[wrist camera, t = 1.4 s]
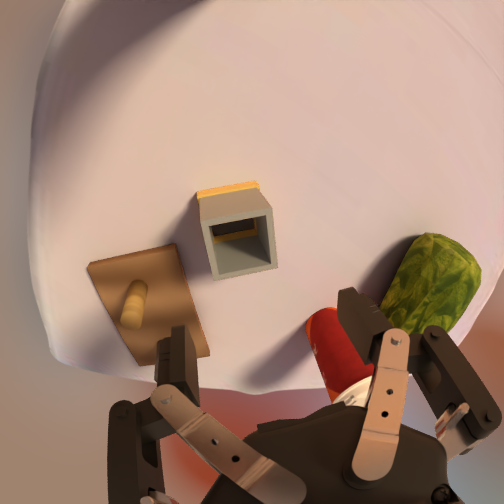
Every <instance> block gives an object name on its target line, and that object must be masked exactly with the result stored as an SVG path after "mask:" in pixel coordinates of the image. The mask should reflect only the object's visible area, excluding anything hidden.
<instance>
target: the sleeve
mask: <svg viewBox="0 0 504 504" xmlns="http://www.w3.org/2000/svg"><path fill="white" fill-rule="evenodd" d="M197 199H198V204H199V209H200V223H201V227H202V232H203V236H204V241H205V245H206V249H207V254H208V258H209V262H210V266H211V271H212V275H213V279H214V281H217V280H222V279H227V278H232V277H237V276H242V275H247V274H252V273H257V272H261V271H266V270H271V269H276V268H278V263H277V253H276V242H275V232H274V222H273V212H272V207H271V205H270V204H269V203H268V201H267V200H266V199H265V197H264V196H263V195H262V193H261V192H260V190H259V184H258V183H257V182H256V181H251V182H245V183H240V184H234V185H229V186H223V187H218V188H213V189H208V190H203V191H198V192H197ZM248 218H253V219H254V227H255V229H250V230H245V231H239V232H234V233H229V234H224V235H219V236H213V231H212V227H211V226H212V225H217V224H222V223H227V222H232V221H237V220H243V219H248Z"/></svg>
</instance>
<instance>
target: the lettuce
mask: <svg viewBox="0 0 504 504" xmlns="http://www.w3.org/2000/svg"><path fill="white" fill-rule="evenodd" d="M480 283H481V268H480V266H479V264H478V263H477V261H476V259H475V258H474V256H473V255H472V254H471V253H470V252H468V251H467V250H466V249H465V248H464V247H463V246H462V245H461V244H459V243H458V242H456V241H454V240H452V239H450V238H448V237H446V236H443V235H441V234H434V233H424V234H423V235H421V236H420V237H418V238H417V239H415V240H414V242H413V243H412V245H411V246H410V248H409V250H408V251H407V253H406V254H405V257H404V259H403V261H402V263H401V265H400V267H399V269H398V271H397V273H396V275H395V278H394V280H393V282H392V284H391V286H390V288H389V290H388V292H387V293H386V295H385V297H384V299H383V301H382V303H381V305H380V307H379V309H380V311H382V313H383V314H384V315H385V317H386V318H387V319H388V320H389V322H390V323H391V324H392V326H393V327H394V328H396V329H401V330H403V331H405V332H406V333H407V334H408V335H413V334H422V333H423V331H424V329H425V328H426V327H427V326H430V325H437V326H440V327H442V328H443V329H444V330H445V331H446V333H448V332H449V331H450V330H451V329H452V328H453V327H454V326H455V324H456V323H457V322H458V320H459V319H460V318H461V316H462V315H463V313H464V312H465V310H466V308H467V307H468V305H469V303H470V302H471V300H472V298H473V297H474V295H475V293H476V292H477V290H478V288H479V287H480Z"/></svg>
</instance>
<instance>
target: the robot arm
mask: <svg viewBox="0 0 504 504" xmlns="http://www.w3.org/2000/svg"><path fill="white" fill-rule="evenodd" d="M337 317H338V320H339V322H340V324H341V326H342V327H343V329H344V331H345V332H346V334H347V336H348V337H349V339H350V341H351V342H352V344H353V346H354V347H355V349H356V351H357V352H358V354H359V356H360V357H361V359H362V361H363V363H364V364H365V366H366V365H369V364H371V363H372V364H373V365H374V369H373V373H372V378H371V382H370V386H369V390H368V394H367V397H366V400H365V403H364V406H363V407H362V406H355V405H347V406H346V405H345V403H344V400H343V401H340V402H338V403H335V404H332V405H329V406H325V407H323V408H321V409H319V410H318V411H316V412H314V413H313V414H311V415H309V416H307V417H305V418H302V419H285V420H276V421H271V422H267V423H262V424H258V425H257V428H258V430H257V431H255V432H253V433H251V434H249V435H248V436H247V437H245V438H244V439H243V440H241V439H239V438H238V437H237V436H235V435H234V434H233V433H232V432H230V431H229V430H228V429H226V428H225V427H224V426H222V425H221V424H220V423H219V422H218V421H216V420H215V419H214V418H213V417H212V416H211V415H209V414H208V413H204V412H202V411H201V410H200V409H199V408H198V407H200V399H199V385H198V370H197V354H196V348H195V345H194V342H193V339H192V337H191V334H190V332H189V329H188V327H187V325H186V324H182V325H176V326H172V328H171V337H165V338H164V339H163V341H162V342H161V344H160V348H159V362H158V378H157V388H156V389H155V390H154V391H153V392H152V394H151V397H149V398H148V399H146V400H143V401H141V402H138V403H136V404H132V403H131V402H130V401H126V400H122V401H118V402H116V403H115V404H114V405H113V406H112V407H111V409H110V412H109V424H108V425H109V426H108V453H107V470H108V471H107V476H108V500H109V504H179V503H178V502H177V501H176V500H175V499H174V498H172V497H170V496H168V495H166V494H165V487H164V479H163V470H162V461H161V451H160V439H161V438H164V437H166V436H169V435H171V434H174V433H177V434H178V435H179V436H180V437H181V438H182V439H183V440H184V441H185V442H186V443H187V444H188V445H189V446H190V447H191V448H192V449H193V450H194V451H195V452H196V453H197V454H198V455H199V456H200V457H201V458H202V459H203V460H205V461H206V462H207V463H208V464H209V465H210V466H211V467H212V468H213V469H215V470H216V471H217V472H218V473H219V474H220V475H219V476H218V478H217V480H216V481H215V483H214V484H213V486H212V487H211V489H210V490H209V492H208V493H207V495H206V496H205V498H204V499H203V501H202V502H201V504H465V503H464V502H463V501H462V500H461V499H460V498H459V497H458V496H457V495H456V494H455V492H454V491H453V490H452V489H451V487H450V486H449V483H448V478H447V461H449V460H450V459H452V458H454V457H455V456H457V455H458V454H459V455H463V454H466V453H468V452H469V451H470V450H472V449H473V448H474V447H475V446H477V445H478V444H479V443H480V442H481V441H483V440H484V439H485V438H486V437H487V436H489V435H490V434H491V433H492V432H493V431H494V430H495V429H496V428H498V426H499V425H500V423H501V420H502V414H501V411H500V409H499V407H498V406H497V404H496V402H495V401H494V399H493V398H492V396H491V395H490V393H489V392H488V390H487V389H486V387H485V385H484V384H483V382H482V381H481V379H480V378H479V377H478V375H477V373H476V372H475V371H474V369H473V368H472V367H471V365H470V363H469V362H468V361H467V359H466V358H465V356H464V355H463V354H462V353H461V351H460V350H459V349H458V347H457V346H456V344H455V343H454V342H453V340H452V339H451V338H450V336H449V335H448V334H447V333H446V331H445V330H444V329H443V328H442V327H440V326H437V325H430V326H427V327H426V328H425V329H424V331H423V333H422V334H413V335H408V334H407V333H406V332H405V331H403V330H401V329H396V328H394V327H393V326H392V324H391V323H390V322H389V320H388V319H387V318H386V317H385V315H384V314H383V313H382V311H380V309H379V308H378V306H376V304H375V303H374V301H373V300H372V299H371V298H370V297H368V296H366V295H365V294H360V295H359V294H358V292H357V291H356V290H355V288H353V287H350V288H346V289H342V290H339V292H338V304H337ZM411 373H412V375H413V377H414V378H415V380H416V382H417V384H418V385H419V387H420V389H421V391H422V392H423V394H424V396H425V398H426V400H427V401H428V403H429V405H430V407H431V409H432V411H433V412H434V414H435V416H436V418H437V422H436V424H435V431H436V436H437V439H436V438H434V437H432V436H430V435H427V434H425V433H422V432H420V431H417V430H415V429H413V428H410V427H408V426H406V425H403V424H401V419H402V414H403V409H404V403H405V397H406V391H407V383H408V377H409V374H411Z"/></svg>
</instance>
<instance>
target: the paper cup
mask: <svg viewBox="0 0 504 504" xmlns="http://www.w3.org/2000/svg"><path fill="white" fill-rule="evenodd" d="M306 333H307V336H308V339H309V342H310V345H311V347H312V350H313V353H314V356H315V358H316V361H317V364H318V367H319V369H320V372H321V375H322V377H323V380H324V383H325V386H326V388H327V391H328V393H329V397H330V399H331V402H332V404H335V403H338V402H340V401H343V400H344V403H345V405H346V406H347V405H355V406H362V407H363V406H364V403H365V400H366V397H367V394H368V390H369V386H370V382H371V378H372V373H373V369H374V365H373V364H372V363H371V364H369V365H366V366H365V364H364V363H363V361H362V359H361V357H360V356H359V354H358V352H357V351H356V349H355V347H354V346H353V344H352V342H351V341H350V339H349V337H348V336H347V334H346V332H345V331H344V329H343V327H342V326H341V324H340V322H339V320H338V317H337V308H332V307H329V308H324V309H321V310H319V311H317V312H316V313H314V314H313V315H312V316H311V317H310V318H309V320H308V321H307V323H306Z"/></svg>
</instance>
